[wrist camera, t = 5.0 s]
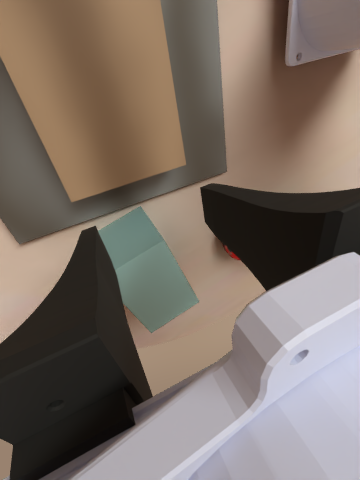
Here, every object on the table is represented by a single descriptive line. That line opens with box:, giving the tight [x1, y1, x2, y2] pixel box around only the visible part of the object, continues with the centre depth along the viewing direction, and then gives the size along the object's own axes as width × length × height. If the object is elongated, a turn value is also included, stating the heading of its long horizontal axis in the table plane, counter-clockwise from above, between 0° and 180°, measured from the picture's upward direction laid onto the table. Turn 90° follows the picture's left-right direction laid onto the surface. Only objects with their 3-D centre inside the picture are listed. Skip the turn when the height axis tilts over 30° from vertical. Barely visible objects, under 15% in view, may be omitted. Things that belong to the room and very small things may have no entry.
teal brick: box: [98, 206, 199, 333], centre depth 22 cm, size 5×8×6 cm, turn 23°
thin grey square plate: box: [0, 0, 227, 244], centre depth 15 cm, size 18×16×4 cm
